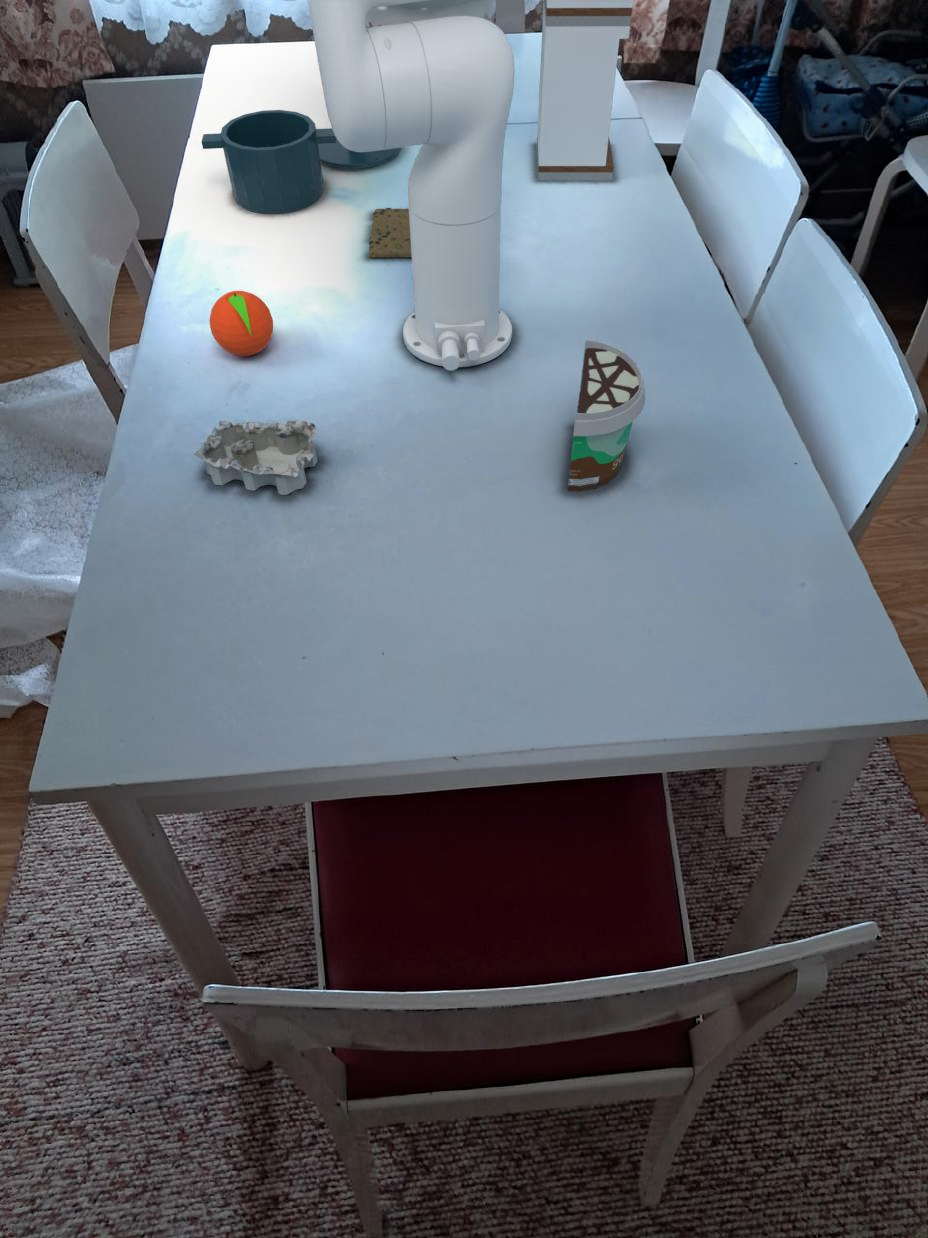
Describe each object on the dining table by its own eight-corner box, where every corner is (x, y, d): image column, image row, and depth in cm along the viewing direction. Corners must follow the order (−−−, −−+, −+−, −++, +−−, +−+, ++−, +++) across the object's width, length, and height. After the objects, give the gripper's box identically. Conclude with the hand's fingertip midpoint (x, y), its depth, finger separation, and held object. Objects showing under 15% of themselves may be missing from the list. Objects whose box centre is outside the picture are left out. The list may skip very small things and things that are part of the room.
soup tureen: (461, 128, 136) (458, -32, 120) (311, 100, 144) (290, -54, 127) (530, 65, 152) (536, -84, 135) (391, 43, 159) (382, -101, 143)
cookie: (367, 257, 112) (366, 250, 111) (374, 212, 119) (373, 205, 119) (460, 257, 112) (460, 249, 111) (461, 211, 119) (461, 204, 119)
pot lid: (402, 169, 128) (399, 121, 122) (310, 174, 127) (302, 126, 122) (400, 130, 136) (397, 84, 131) (313, 134, 136) (306, 87, 131)
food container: (630, 507, 83) (646, 423, 75) (566, 500, 83) (575, 417, 76) (635, 425, 90) (650, 341, 82) (576, 420, 91) (585, 336, 83)
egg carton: (326, 454, 88) (320, 421, 85) (297, 503, 84) (290, 471, 81) (230, 435, 90) (221, 403, 87) (197, 483, 86) (186, 451, 82)
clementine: (289, 363, 98) (278, 306, 92) (230, 380, 96) (215, 323, 91) (267, 327, 103) (255, 270, 97) (210, 343, 101) (194, 286, 95)
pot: (341, 210, 120) (333, 146, 114) (211, 216, 120) (195, 152, 113) (343, 169, 128) (335, 106, 121) (220, 175, 127) (206, 112, 121)
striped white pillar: (612, 180, 125) (649, -138, 97) (537, 180, 125) (554, -137, 98) (606, 145, 132) (639, -160, 104) (536, 145, 132) (551, -159, 105)
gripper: (367, -7, 109) (379, 138, 122) (367, -46, 120) (378, 92, 133) (307, -5, 108) (326, 141, 122) (312, -43, 119) (329, 94, 133)
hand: (353, 115), depth 127 cm, fingers open, 9 cm apart
